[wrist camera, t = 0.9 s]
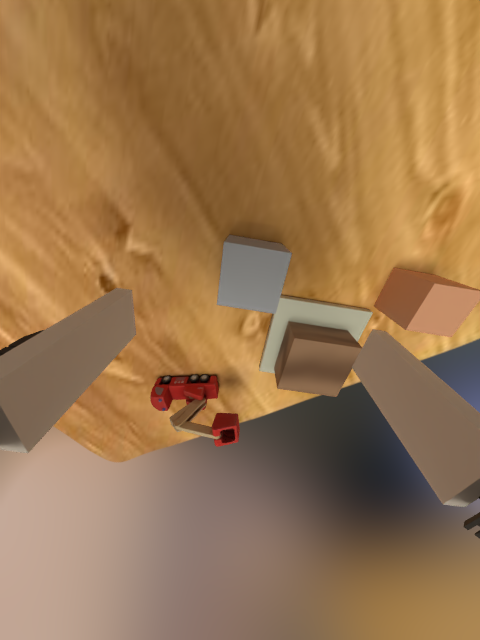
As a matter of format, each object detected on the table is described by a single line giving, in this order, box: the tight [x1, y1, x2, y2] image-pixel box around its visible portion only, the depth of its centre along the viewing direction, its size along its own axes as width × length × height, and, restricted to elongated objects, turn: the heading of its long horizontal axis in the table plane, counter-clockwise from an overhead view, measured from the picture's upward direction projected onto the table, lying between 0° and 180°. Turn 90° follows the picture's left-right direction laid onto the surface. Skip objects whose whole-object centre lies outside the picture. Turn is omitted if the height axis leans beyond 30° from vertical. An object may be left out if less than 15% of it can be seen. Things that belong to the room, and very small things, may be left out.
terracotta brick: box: [374, 268, 480, 337], centre depth 23 cm, size 5×5×6 cm
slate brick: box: [217, 235, 292, 314], centre depth 22 cm, size 6×6×6 cm
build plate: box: [259, 295, 373, 373], centre depth 28 cm, size 12×12×1 cm
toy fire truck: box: [151, 374, 240, 446], centre depth 29 cm, size 3×14×10 cm, turn 94°
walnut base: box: [274, 321, 362, 397], centre depth 27 cm, size 8×8×4 cm
